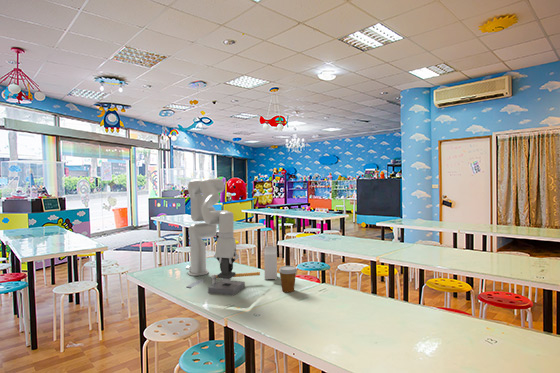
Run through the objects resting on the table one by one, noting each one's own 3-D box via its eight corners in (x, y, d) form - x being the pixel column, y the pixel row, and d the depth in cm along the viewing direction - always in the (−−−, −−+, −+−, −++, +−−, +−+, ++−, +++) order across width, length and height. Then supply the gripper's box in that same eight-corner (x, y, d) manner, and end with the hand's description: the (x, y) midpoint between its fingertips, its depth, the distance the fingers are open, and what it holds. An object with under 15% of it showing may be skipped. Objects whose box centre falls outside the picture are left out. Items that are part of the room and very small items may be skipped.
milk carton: (276, 279, 190) (276, 247, 189) (264, 279, 190) (264, 247, 190) (277, 276, 197) (276, 245, 197) (265, 276, 197) (265, 245, 197)
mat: (186, 287, 177) (186, 286, 177) (200, 280, 190) (200, 279, 190) (209, 289, 173) (209, 288, 173) (221, 282, 186) (221, 281, 186)
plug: (217, 283, 167) (217, 259, 166) (223, 279, 173) (223, 256, 173) (229, 284, 165) (229, 260, 164) (235, 280, 171) (235, 257, 171)
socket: (203, 294, 165) (202, 284, 165) (216, 286, 178) (216, 276, 178) (233, 298, 160) (233, 286, 160) (244, 289, 173) (244, 278, 173)
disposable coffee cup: (297, 287, 175) (297, 265, 174) (296, 293, 165) (296, 270, 165) (280, 287, 175) (279, 265, 175) (278, 293, 166) (277, 270, 166)
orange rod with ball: (211, 279, 172) (211, 276, 172) (211, 277, 175) (211, 275, 175) (260, 275, 178) (260, 272, 178) (259, 274, 181) (259, 271, 181)
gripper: (208, 235, 167) (208, 271, 168) (237, 237, 162) (238, 273, 163) (215, 233, 175) (215, 267, 175) (243, 235, 170) (244, 269, 170)
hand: (226, 270), depth 169 cm, fingers closed on plug, 4 cm apart
